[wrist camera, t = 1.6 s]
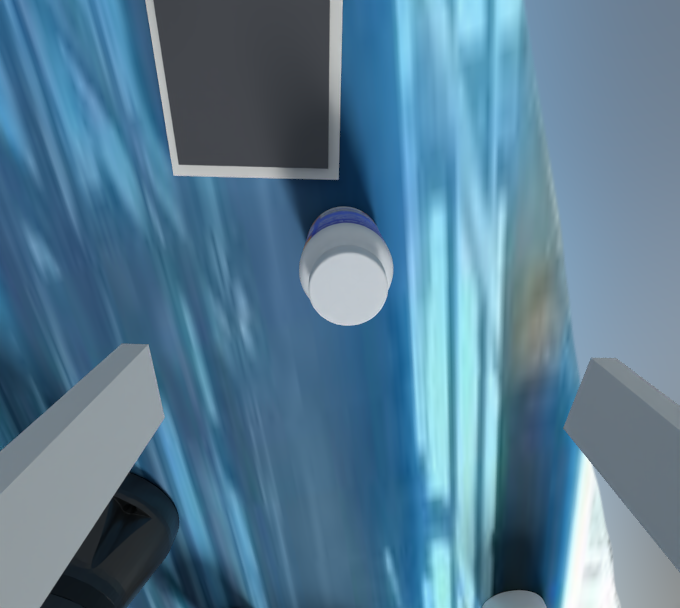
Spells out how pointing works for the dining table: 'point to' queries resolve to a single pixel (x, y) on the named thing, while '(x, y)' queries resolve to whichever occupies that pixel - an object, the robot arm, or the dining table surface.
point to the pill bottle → (346, 266)
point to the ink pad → (250, 86)
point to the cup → (515, 600)
